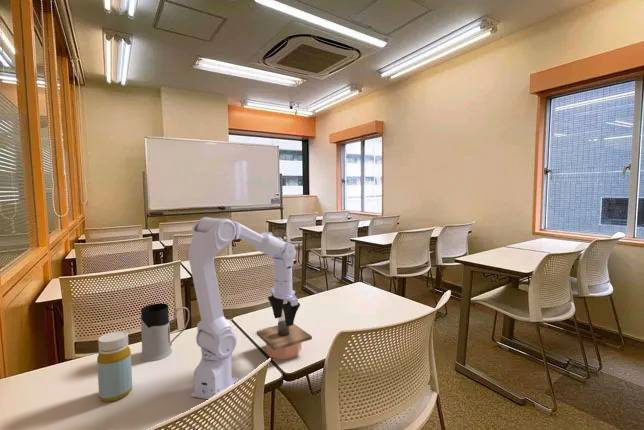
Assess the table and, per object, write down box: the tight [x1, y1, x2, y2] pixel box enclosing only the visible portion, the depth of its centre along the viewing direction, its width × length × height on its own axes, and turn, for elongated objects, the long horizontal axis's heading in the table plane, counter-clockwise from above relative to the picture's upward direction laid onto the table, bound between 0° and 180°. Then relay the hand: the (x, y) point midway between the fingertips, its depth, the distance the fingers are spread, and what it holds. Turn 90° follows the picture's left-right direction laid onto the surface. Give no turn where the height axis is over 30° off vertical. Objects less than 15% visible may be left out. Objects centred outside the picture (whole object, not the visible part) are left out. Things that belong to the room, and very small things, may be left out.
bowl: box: [265, 342, 302, 360], centre depth 101 cm, size 10×10×4 cm
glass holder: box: [140, 302, 190, 362], centre depth 100 cm, size 9×14×15 cm, turn 118°
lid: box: [256, 321, 313, 351], centre depth 101 cm, size 13×13×5 cm
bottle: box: [96, 330, 133, 403], centre depth 79 cm, size 7×7×15 cm
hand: (283, 321), depth 101 cm, fingers open, 7 cm apart
